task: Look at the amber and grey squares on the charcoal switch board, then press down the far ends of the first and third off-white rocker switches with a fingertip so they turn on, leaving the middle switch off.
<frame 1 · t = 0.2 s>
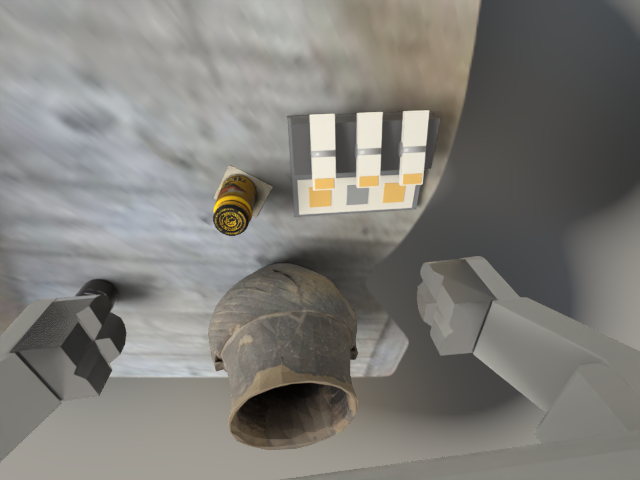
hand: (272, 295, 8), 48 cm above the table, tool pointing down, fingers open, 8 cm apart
switch 3: (411, 148, 49), point 7 cm above the table, hinge at -12.0°
switch unit: (356, 165, 57), on the table
ceramic pot: (285, 286, 72), on the table
supplement bottle: (102, 290, 67), on the table
condiment: (243, 191, 58), on the table
switch 2: (367, 150, 48), point 7 cm above the table, hinge at -12.0°
switch 1: (322, 152, 48), point 7 cm above the table, hinge at -12.0°
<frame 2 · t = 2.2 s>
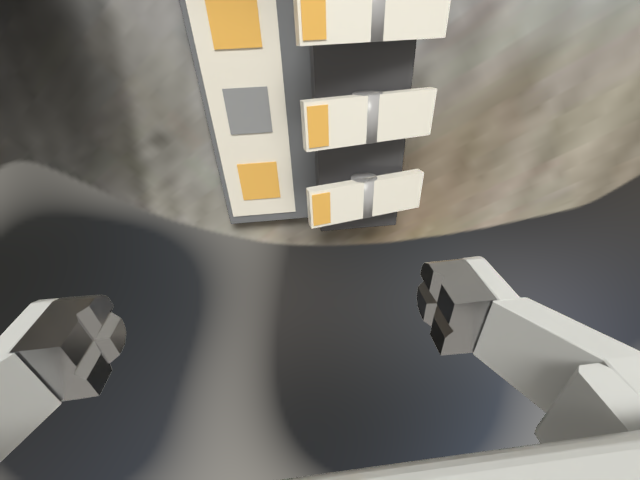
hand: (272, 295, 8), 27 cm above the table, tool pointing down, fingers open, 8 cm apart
switch 3: (363, 195, 29), point 7 cm above the table, hinge at -12.0°
switch unit: (301, 104, 31), on the table
switch 2: (366, 117, 25), point 7 cm above the table, hinge at -12.0°
switch 1: (371, 10, 21), point 7 cm above the table, hinge at -12.0°
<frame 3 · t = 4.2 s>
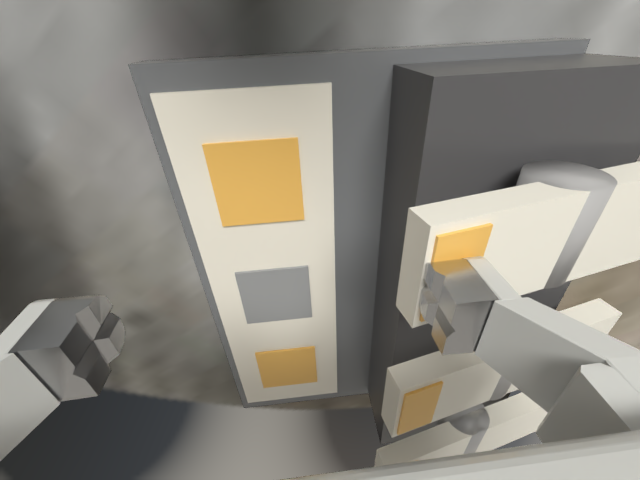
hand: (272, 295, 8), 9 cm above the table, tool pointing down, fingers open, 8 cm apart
switch 3: (459, 428, 18), point 7 cm above the table, hinge at -12.0°
switch unit: (355, 268, 20), on the table
switch 2: (490, 353, 14), point 7 cm above the table, hinge at -12.0°
switch 1: (545, 224, 11), point 7 cm above the table, hinge at -12.0°, touching gripper
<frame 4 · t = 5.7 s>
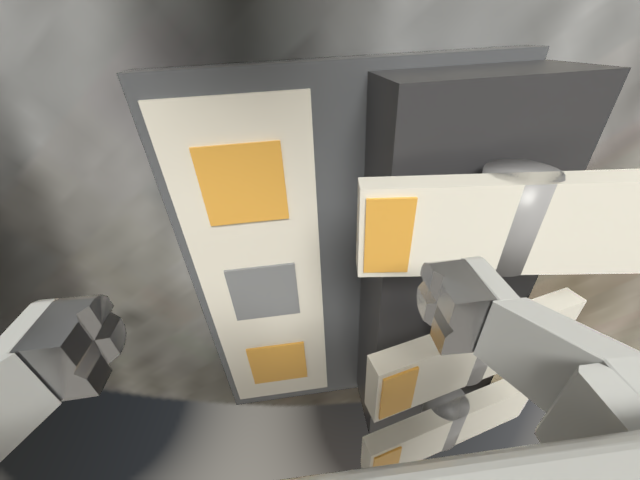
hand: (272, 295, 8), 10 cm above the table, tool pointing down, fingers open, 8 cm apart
switch 3: (442, 415, 19), point 7 cm above the table, hinge at -12.0°
switch unit: (340, 265, 21), on the table
switch 2: (466, 341, 15), point 7 cm above the table, hinge at -12.0°
switch 1: (507, 217, 11), point 7 cm above the table, hinge at 8.9°
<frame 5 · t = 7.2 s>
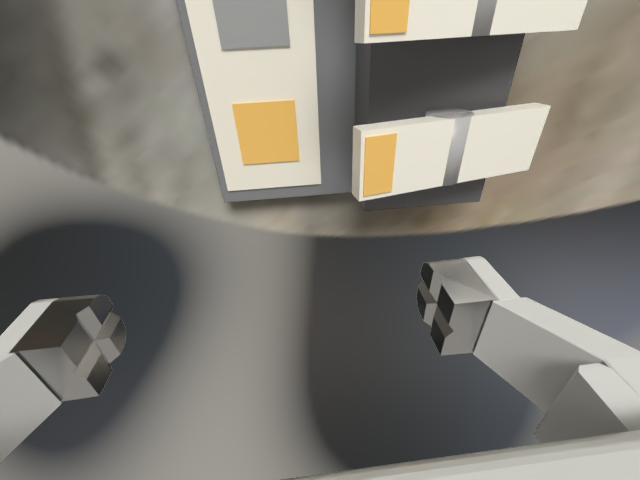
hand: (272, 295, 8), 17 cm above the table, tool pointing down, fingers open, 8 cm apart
switch 3: (443, 147, 17), point 7 cm above the table, hinge at -12.0°
switch unit: (335, 2, 19), on the table
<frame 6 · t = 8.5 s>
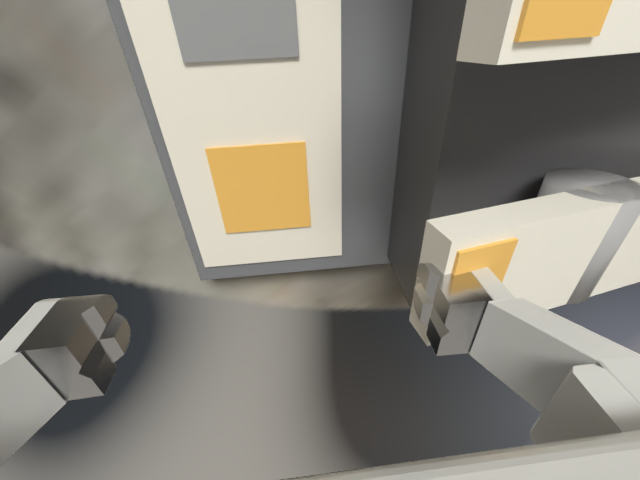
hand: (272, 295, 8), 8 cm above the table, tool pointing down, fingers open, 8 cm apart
switch 3: (568, 236, 10), point 7 cm above the table, hinge at -11.4°, touching gripper
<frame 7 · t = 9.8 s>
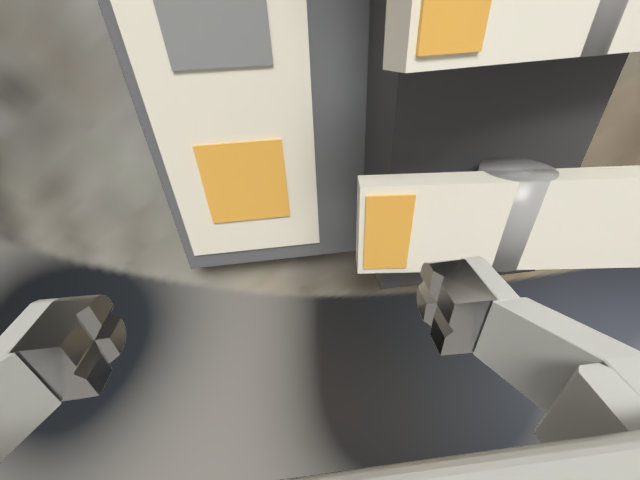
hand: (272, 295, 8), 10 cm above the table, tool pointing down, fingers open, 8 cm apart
switch 3: (502, 214, 12), point 7 cm above the table, hinge at 7.9°
switch unit: (338, 3, 13), on the table
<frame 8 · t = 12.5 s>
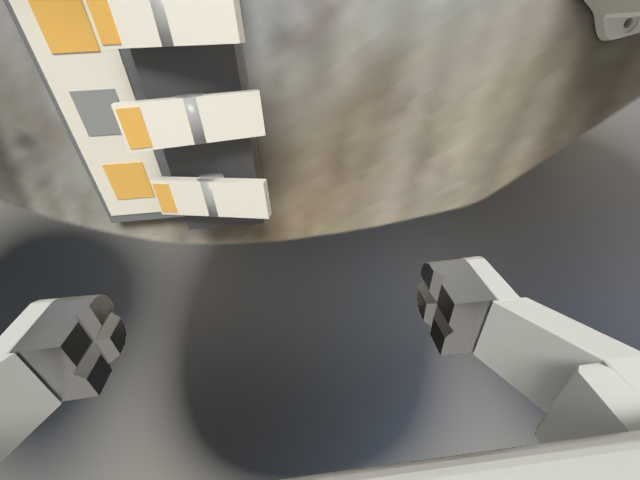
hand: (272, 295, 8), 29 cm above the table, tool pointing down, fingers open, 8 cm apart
switch 3: (214, 194, 30), point 7 cm above the table, hinge at 14.8°
switch unit: (160, 105, 32), on the table
switch 2: (195, 118, 26), point 7 cm above the table, hinge at -12.0°
switch 1: (169, 16, 22), point 7 cm above the table, hinge at 16.7°
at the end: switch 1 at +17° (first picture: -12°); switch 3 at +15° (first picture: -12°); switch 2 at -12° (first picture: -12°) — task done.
